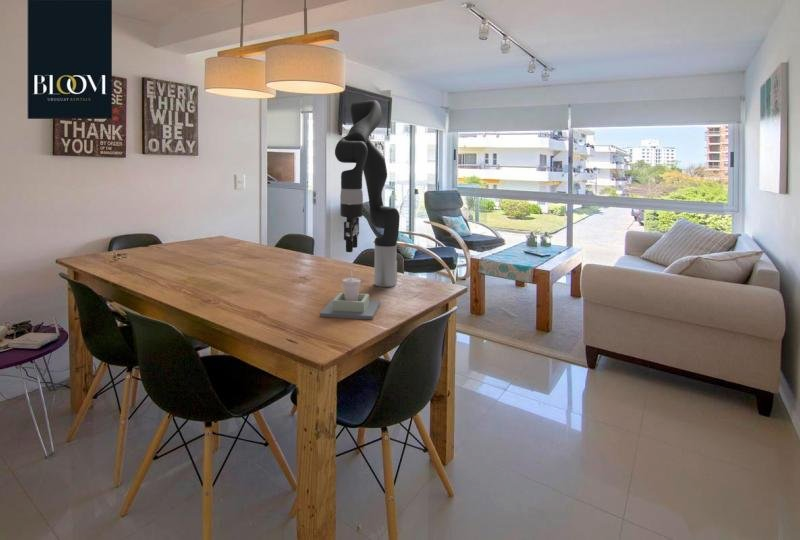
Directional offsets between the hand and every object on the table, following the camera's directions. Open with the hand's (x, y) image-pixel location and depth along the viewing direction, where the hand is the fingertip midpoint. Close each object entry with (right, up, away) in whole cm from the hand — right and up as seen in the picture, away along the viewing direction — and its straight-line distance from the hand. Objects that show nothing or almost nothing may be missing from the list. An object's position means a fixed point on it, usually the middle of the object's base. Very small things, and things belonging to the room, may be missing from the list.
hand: (351, 249), depth 166 cm
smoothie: (-1, -20, +5) cm, 21 cm away
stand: (-1, -21, +5) cm, 22 cm away
